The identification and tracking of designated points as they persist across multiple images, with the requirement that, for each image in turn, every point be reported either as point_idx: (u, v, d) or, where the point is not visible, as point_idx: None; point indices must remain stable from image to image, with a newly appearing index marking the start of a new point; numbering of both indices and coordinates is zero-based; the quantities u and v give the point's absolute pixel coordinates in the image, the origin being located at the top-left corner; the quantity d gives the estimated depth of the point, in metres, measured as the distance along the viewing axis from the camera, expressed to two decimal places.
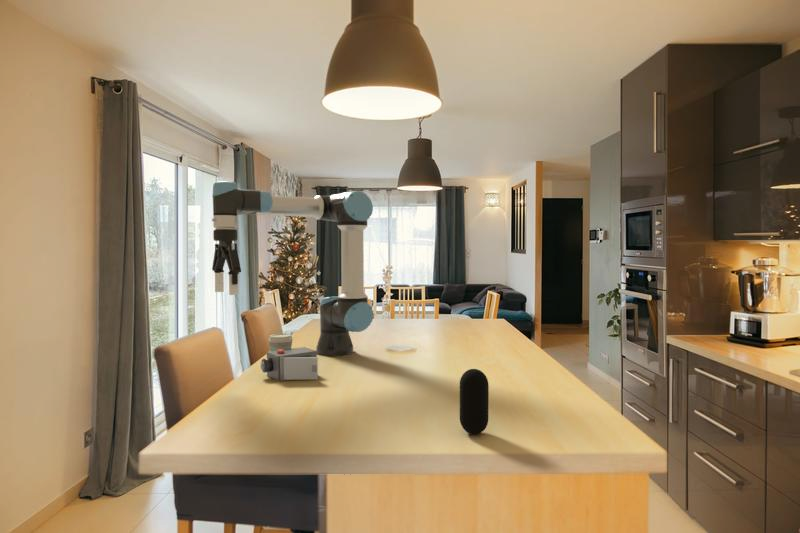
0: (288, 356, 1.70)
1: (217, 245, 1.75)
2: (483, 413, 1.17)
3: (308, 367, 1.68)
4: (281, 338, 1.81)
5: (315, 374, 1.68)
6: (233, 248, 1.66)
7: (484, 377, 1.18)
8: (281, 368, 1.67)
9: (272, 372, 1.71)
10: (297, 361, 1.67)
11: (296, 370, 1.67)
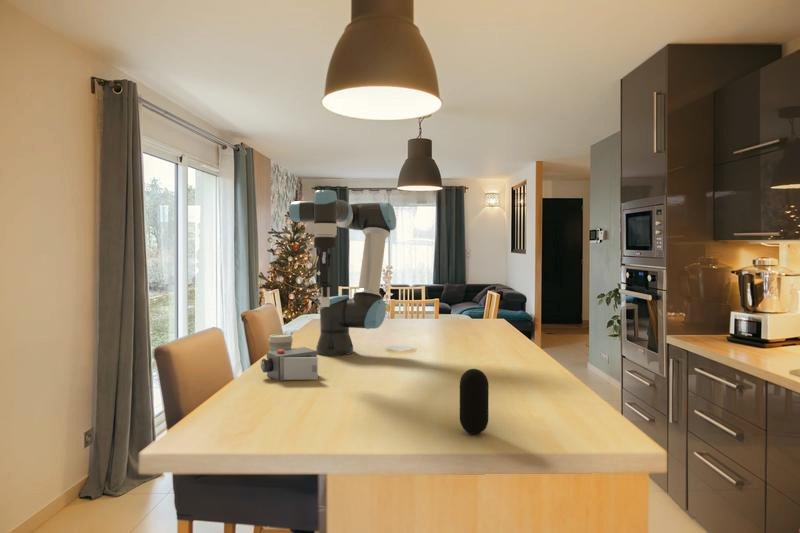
0: (288, 356, 1.70)
1: None
2: (483, 413, 1.17)
3: (308, 367, 1.68)
4: (281, 338, 1.81)
5: (315, 374, 1.68)
6: (324, 262, 1.69)
7: (484, 377, 1.18)
8: (281, 368, 1.67)
9: (272, 372, 1.71)
10: (297, 361, 1.67)
11: (296, 370, 1.67)
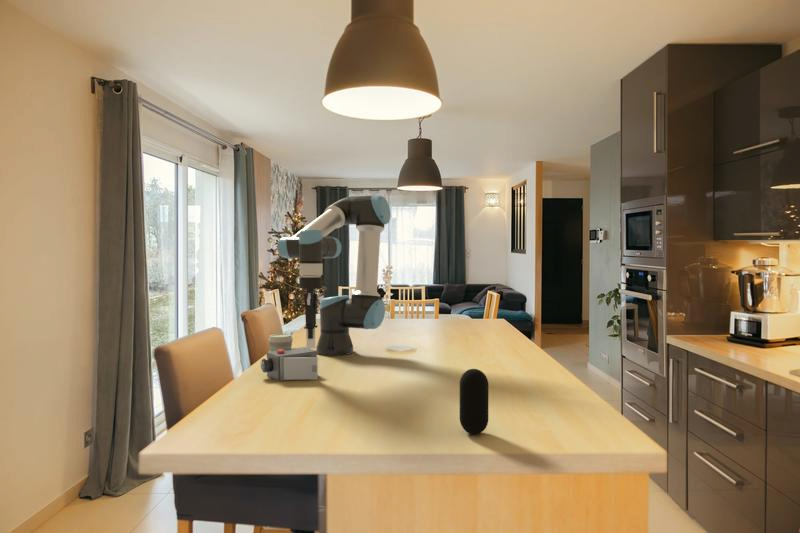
0: (288, 356, 1.70)
1: None
2: (483, 413, 1.17)
3: (308, 367, 1.68)
4: (281, 338, 1.81)
5: (315, 374, 1.68)
6: (309, 304, 1.65)
7: (484, 377, 1.18)
8: (281, 368, 1.67)
9: (272, 372, 1.71)
10: (297, 361, 1.67)
11: (296, 370, 1.67)
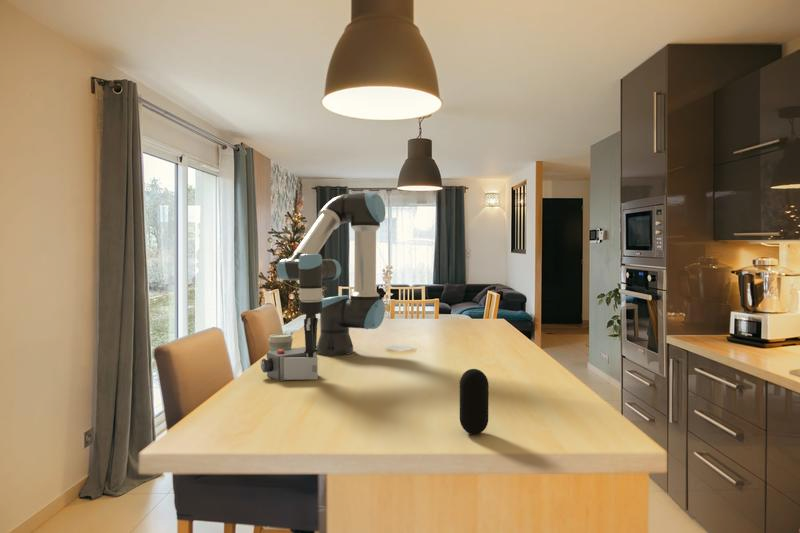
0: (288, 356, 1.70)
1: None
2: (483, 413, 1.17)
3: (308, 367, 1.68)
4: (281, 338, 1.81)
5: (315, 374, 1.68)
6: (308, 330, 1.65)
7: (484, 377, 1.18)
8: (281, 368, 1.67)
9: (272, 372, 1.71)
10: (297, 361, 1.67)
11: (296, 370, 1.67)
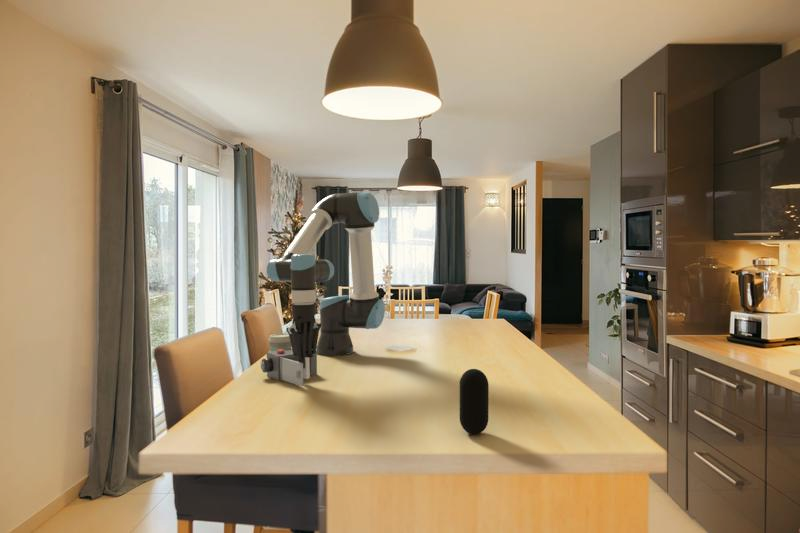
0: (288, 356, 1.70)
1: None
2: (483, 413, 1.17)
3: (295, 372, 1.61)
4: (281, 338, 1.81)
5: (299, 381, 1.60)
6: (291, 333, 1.59)
7: (484, 377, 1.18)
8: (280, 368, 1.67)
9: (272, 372, 1.71)
10: (289, 363, 1.64)
11: (289, 373, 1.64)
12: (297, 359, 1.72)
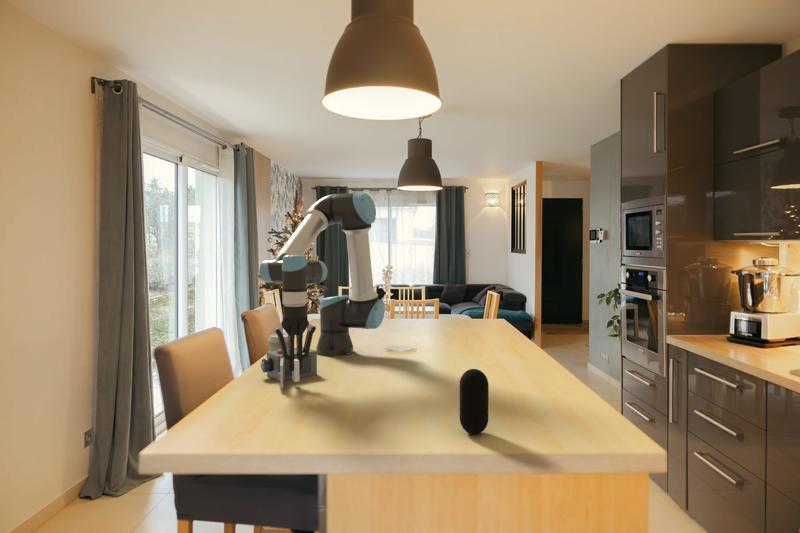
0: None
1: None
2: (483, 413, 1.17)
3: None
4: None
5: (280, 383, 1.57)
6: (277, 334, 1.58)
7: (484, 377, 1.18)
8: None
9: (272, 372, 1.71)
10: None
11: None
12: None
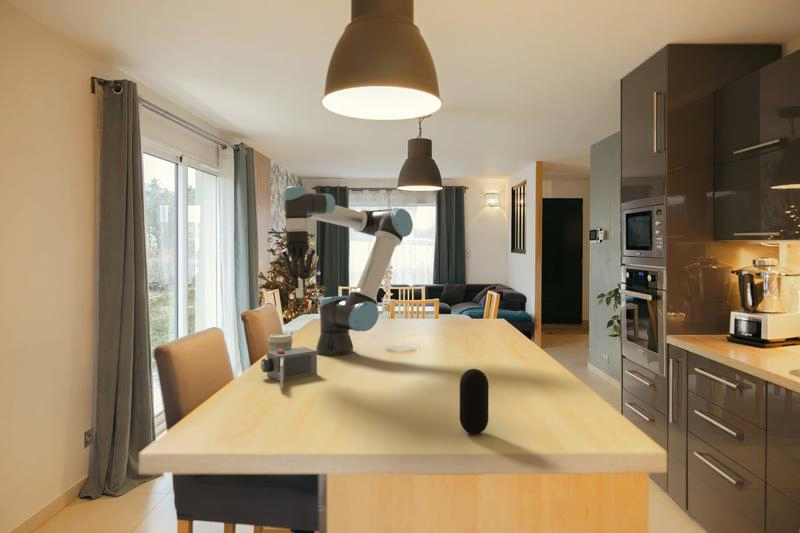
0: (288, 356, 1.70)
1: None
2: (483, 413, 1.17)
3: None
4: (281, 338, 1.81)
5: (280, 383, 1.57)
6: (283, 256, 1.80)
7: (484, 377, 1.18)
8: None
9: (272, 372, 1.71)
10: None
11: None
12: (297, 359, 1.72)
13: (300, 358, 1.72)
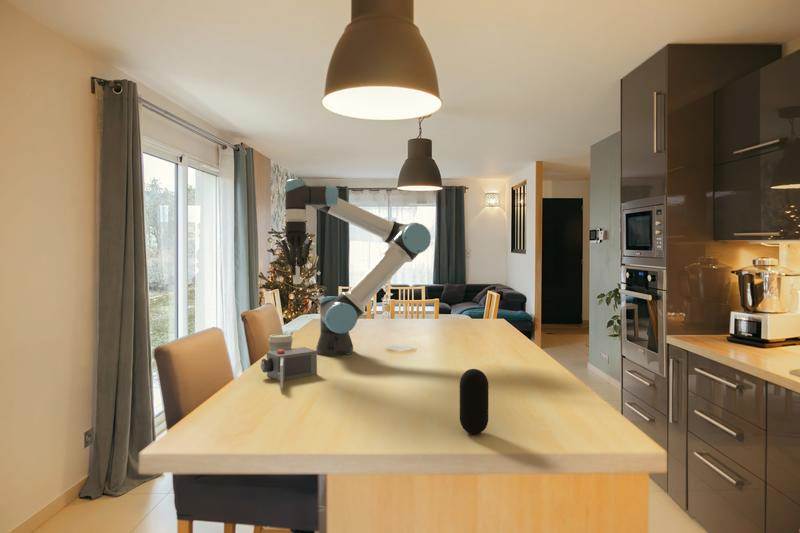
0: (288, 356, 1.70)
1: None
2: (483, 413, 1.17)
3: None
4: (281, 338, 1.81)
5: (280, 383, 1.57)
6: (282, 244, 1.91)
7: (484, 377, 1.18)
8: None
9: (272, 372, 1.71)
10: None
11: None
12: (297, 359, 1.72)
13: (300, 358, 1.72)
